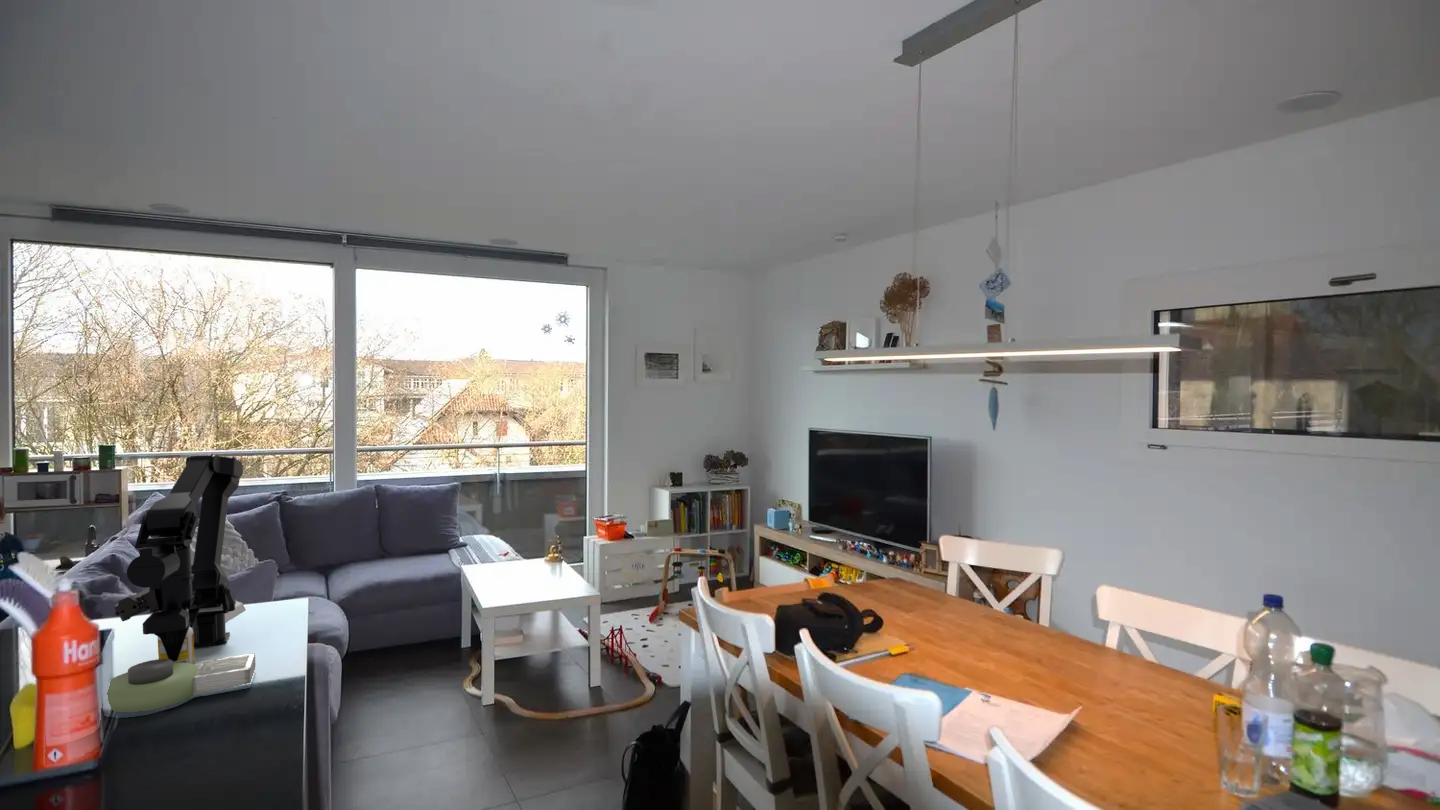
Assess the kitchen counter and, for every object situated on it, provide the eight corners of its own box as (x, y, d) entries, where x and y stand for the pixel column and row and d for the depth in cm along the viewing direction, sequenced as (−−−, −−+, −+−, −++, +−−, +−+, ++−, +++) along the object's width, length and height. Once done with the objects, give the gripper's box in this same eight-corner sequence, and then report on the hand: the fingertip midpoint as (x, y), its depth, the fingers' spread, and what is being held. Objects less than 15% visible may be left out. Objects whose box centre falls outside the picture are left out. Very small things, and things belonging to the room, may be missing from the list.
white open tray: (199, 680, 134) (198, 661, 134) (255, 671, 138) (254, 652, 138) (190, 698, 127) (189, 678, 127) (250, 688, 131) (249, 668, 130)
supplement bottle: (174, 664, 143) (171, 613, 143) (201, 664, 143) (199, 613, 142) (151, 675, 138) (149, 623, 137) (180, 675, 137) (178, 622, 137)
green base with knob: (114, 694, 129) (112, 660, 129) (205, 679, 135) (203, 646, 135) (91, 725, 118) (89, 687, 117) (191, 707, 123) (190, 671, 123)
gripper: (131, 568, 144) (135, 648, 145) (103, 592, 128) (108, 682, 128) (201, 560, 149) (204, 638, 150) (183, 582, 132) (187, 670, 133)
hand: (176, 656), depth 140 cm, fingers closed on supplement bottle, 5 cm apart
